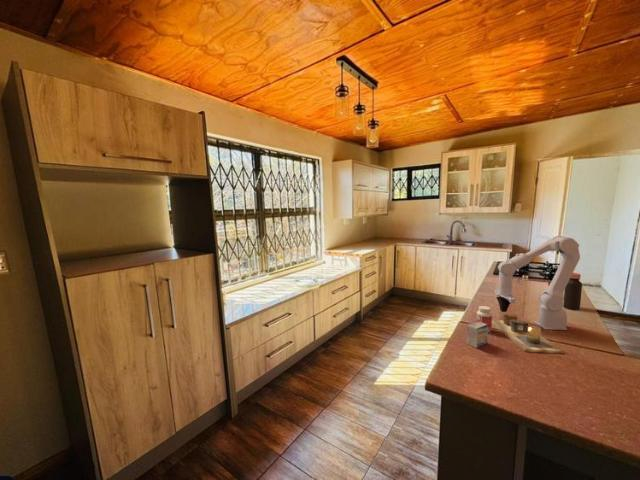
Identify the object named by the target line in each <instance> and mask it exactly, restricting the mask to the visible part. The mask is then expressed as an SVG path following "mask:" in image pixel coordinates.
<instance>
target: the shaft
mask: <svg viewBox="0 0 640 480" xmlns="http://www.w3.org/2000/svg"><path fill="white" fill-rule="evenodd" d="M503 320H504V322H503V323H504V324H506V325H511V321H516V322H518V321H519V320H518V316H517V315H515V314H504V315H503ZM517 330H523V325H517Z"/></svg>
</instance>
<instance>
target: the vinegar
mask: <svg viewBox="0 0 640 480" xmlns="http://www.w3.org/2000/svg"><path fill="white" fill-rule="evenodd" d="M580 280H581V274H580V273H578V272H577V273H576V272H573V273H572V275H571V277H570V279H569V281H568V283H567V285H566V287H565V289H564V291H563V296H564V300H563V307H562V308H565V309H566V310H569V311H570V310H571V311H580V309H581V303H582V301H581V300H582V292H583V291H582V289H583V283H582V282H581V281H580Z"/></svg>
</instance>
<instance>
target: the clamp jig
mask: <svg viewBox="0 0 640 480" xmlns="http://www.w3.org/2000/svg"><path fill="white" fill-rule="evenodd" d="M517 321H518V322H516V321H511V325H506V324H504V323H503V322H504V319H502V320H501V319H500V320H499V319H498V320H497V319H492V326H494V327H495V328H497V329H498V330H499V331H500V332H501V333H502V334H503V335H505V336H506V337H507V338H508V339H509V340H510V341H511V342H513V343H514V344H515V345H517V346H518V347H519V348H520V349H521V350H522V351H523V352H528V353H547V354H548V353H549V354H550V353H551V354H564V349H562V348H560V347H559V346H557V345H556V344H554V343H553V342H551V341H550V340H549V339H547V338H546V337H544V336H543V335H541V338H540V344H534V343H531V342H528V341H527V329H528V326H529V323H528V322H526V321H521V320H517ZM517 325H523V330H517Z"/></svg>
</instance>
